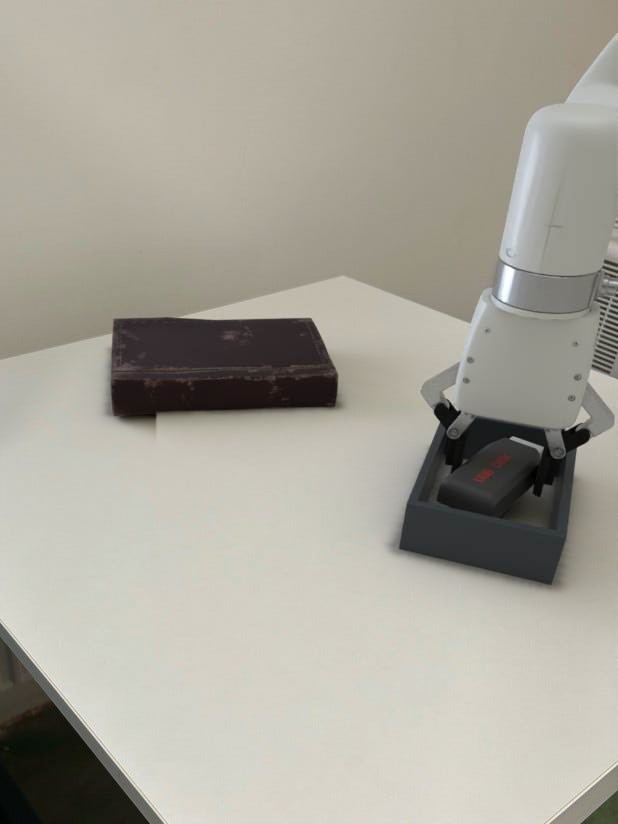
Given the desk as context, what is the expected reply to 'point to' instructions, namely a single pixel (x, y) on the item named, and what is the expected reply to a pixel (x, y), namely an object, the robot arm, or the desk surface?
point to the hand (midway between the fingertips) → (496, 479)
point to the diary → (218, 365)
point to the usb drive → (492, 477)
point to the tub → (480, 534)
